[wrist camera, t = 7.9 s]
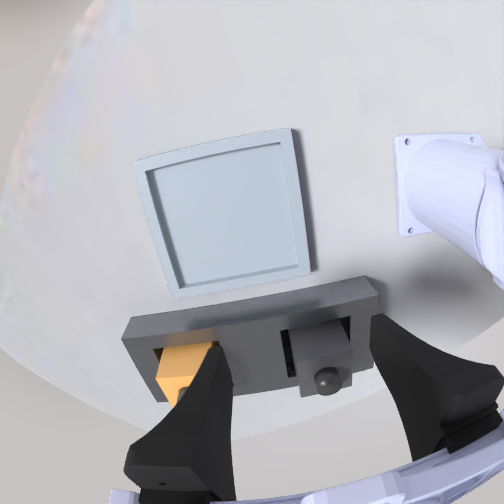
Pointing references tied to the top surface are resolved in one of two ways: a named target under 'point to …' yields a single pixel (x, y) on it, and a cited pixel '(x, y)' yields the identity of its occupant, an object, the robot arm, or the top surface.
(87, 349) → the top surface
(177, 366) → the plug
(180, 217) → the tray
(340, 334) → the grey block with knob
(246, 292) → the top surface
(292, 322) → the strip
